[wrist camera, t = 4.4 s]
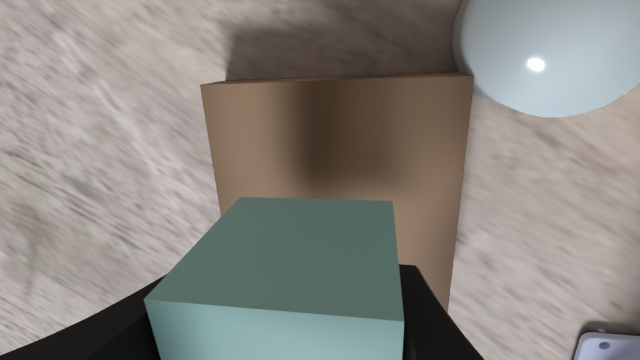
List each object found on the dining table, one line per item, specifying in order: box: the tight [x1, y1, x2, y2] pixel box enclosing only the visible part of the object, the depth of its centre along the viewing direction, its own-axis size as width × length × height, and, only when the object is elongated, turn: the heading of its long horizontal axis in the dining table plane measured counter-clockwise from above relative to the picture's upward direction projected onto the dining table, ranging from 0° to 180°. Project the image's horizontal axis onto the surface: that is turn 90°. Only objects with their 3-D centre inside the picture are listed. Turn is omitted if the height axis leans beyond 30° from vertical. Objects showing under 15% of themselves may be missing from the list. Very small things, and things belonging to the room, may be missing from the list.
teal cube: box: [144, 197, 404, 360], centre depth 9 cm, size 5×5×5 cm
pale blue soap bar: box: [452, 0, 640, 117], centre depth 12 cm, size 6×6×4 cm
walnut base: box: [200, 73, 474, 313], centre depth 16 cm, size 11×11×2 cm
